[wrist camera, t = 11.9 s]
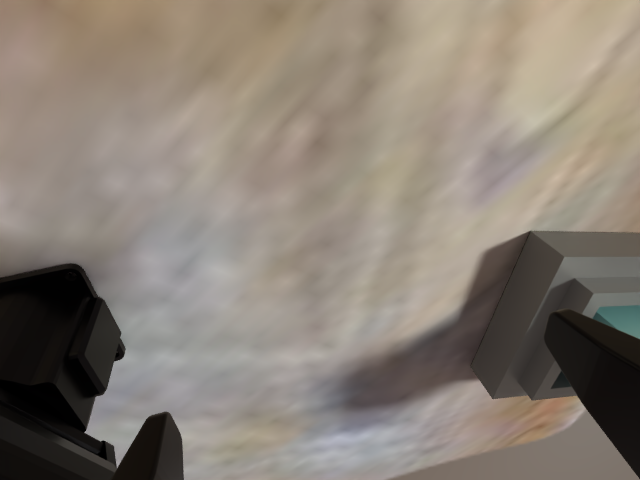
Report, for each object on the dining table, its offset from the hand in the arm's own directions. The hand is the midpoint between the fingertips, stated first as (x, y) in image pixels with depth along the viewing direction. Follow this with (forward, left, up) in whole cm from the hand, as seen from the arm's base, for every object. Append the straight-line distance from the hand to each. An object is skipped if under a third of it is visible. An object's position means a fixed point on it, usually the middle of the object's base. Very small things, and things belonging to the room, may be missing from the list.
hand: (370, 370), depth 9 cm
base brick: (+19, -15, -13) cm, 27 cm away
